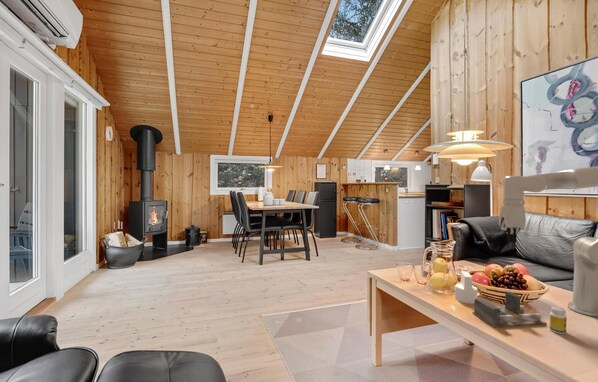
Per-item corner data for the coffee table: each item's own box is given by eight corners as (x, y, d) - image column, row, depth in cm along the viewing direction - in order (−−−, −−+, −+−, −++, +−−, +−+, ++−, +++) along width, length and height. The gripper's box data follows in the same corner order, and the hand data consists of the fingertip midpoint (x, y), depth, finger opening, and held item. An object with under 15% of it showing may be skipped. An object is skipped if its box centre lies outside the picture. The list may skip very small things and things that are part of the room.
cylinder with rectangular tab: (479, 304, 135) (480, 278, 135) (456, 302, 138) (457, 276, 138) (474, 297, 144) (475, 272, 143) (453, 294, 147) (453, 270, 146)
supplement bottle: (567, 335, 108) (568, 312, 108) (550, 332, 111) (551, 309, 111) (564, 330, 113) (565, 307, 112) (548, 326, 115) (549, 305, 115)
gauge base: (520, 311, 129) (520, 295, 129) (546, 324, 117) (547, 307, 117) (472, 313, 126) (473, 297, 126) (494, 327, 114) (495, 310, 114)
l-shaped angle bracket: (508, 313, 125) (509, 291, 124) (527, 323, 116) (528, 300, 115) (489, 314, 124) (490, 292, 123) (507, 324, 115) (508, 301, 114)
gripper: (520, 202, 143) (519, 240, 144) (492, 202, 141) (490, 241, 142) (535, 203, 136) (533, 243, 136) (504, 203, 134) (503, 244, 135)
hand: (511, 242), depth 139 cm, fingers closed
